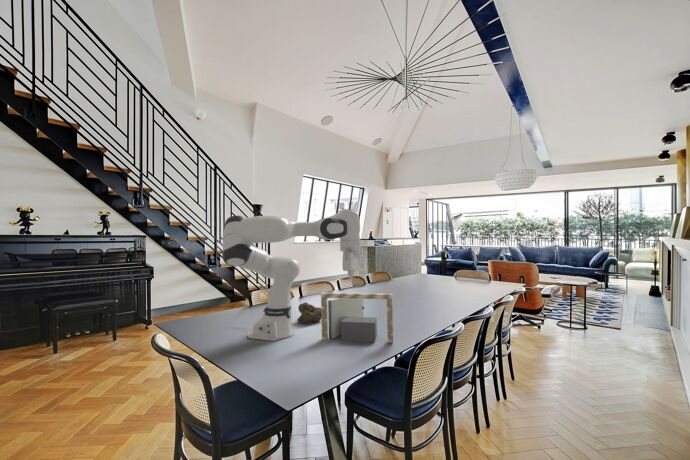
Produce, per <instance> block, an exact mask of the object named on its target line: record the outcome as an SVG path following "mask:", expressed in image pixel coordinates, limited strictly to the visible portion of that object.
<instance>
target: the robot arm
mask: <svg viewBox="0 0 690 460" xmlns="http://www.w3.org/2000/svg"><path fill="white" fill-rule="evenodd" d="M360 233H361V222H360V216H359V213H358V212H357V211H356V210H354V209H347V208H344V209H341V210H340V211H338V212H337V213H335V214H333V215H331V216H328V217H324V218H321V219H318V220H317V221H305V222H304V221H302V222H301V221H293V220H290V219H288V218H286V217H284V216H283V217H282V216H275V215H257V216H256V215H255V216H250V217H245V216H243V215H233V216H229V217H228V218H226V219H225V222H224V225H223V233H222V253H221V254H222V260H223V262H224V263H225V264H226V265H228V266H230V267H239V268H242V269H244V270H247V271H251V272H254V273H256V274H258V275H259V276H262V277H264V278H267V279H273V284H272V286H271V288H269V289H268V292H267V306H266V307H264V309H263V310H262V311H263V313H264V314H263V315H262V316H260V317H259V318H258V319H257V320H256V321H254V323H253V326H252V330H251V331H250V332H248V334H247V338H248V339H254V340H256V339H257V340H263V341H270V342H271V341H272V342H273V341H277V340H281V339H286V338H289V337H292V336H293V335H294V334H295V333H294V329H293V324H292V305H291V289H292V285H293V283H294V281H295V279H296V278H297V277H298V276H299V275H300V272H301V266H300V264H299V263H300V262H298V260H296V259H294V258H290V257H282V256H281V257H279V256H273V255H271V254H269V253H268V252H267V251H266V250H264V249H261V247H257V246H255V245H254V244H257V243H258V244H267V243H268V244H271V243H279V242H284V241H287V240H289V239H292V238H296V237H316V238H319V239H321V240H323V241H324V240H326V241H329V240H330V241H331V240H332V241H333V240H335V239H339V250H340V252H343V253H342V271H344V272H346V273H347V276H348V278H347V279H348V280H353V279H354V272H355V268H357V267H358V265H359V255H360V254H359V253H360V252H361V249H362V248H361V247H362V246H361V237H360V236H361V235H360Z"/></svg>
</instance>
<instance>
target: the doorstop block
mask: <svg viewBox="0 0 690 460" xmlns="http://www.w3.org/2000/svg"><path fill="white" fill-rule="evenodd" d="M377 320H378V319H377V317H374V316H373V317H372V316H371V317H367V316H366V317H365V316H364V317H344V318H343V319H342V321H341V335H340V336H341V337H340V338H341V339H340V340H341V341H344V342H345V341H349V342H365V341H368V342H370V343H375V342H376V341H375V340H377V337H378V335H377V334H378V333H377V332H378V331H377V330H378V327H377V325H378V324H377ZM368 342H367V343H368Z"/></svg>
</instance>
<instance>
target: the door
mask: <svg viewBox="0 0 690 460" xmlns="http://www.w3.org/2000/svg"><path fill="white" fill-rule="evenodd" d="M357 293H364V292H363V291H358V292H357ZM364 310H365V306H364V299H354V298H331V299H329V300H327V311H328V339H329V340H331V339H334V338H337V337H339V336H341V321H342V319H343V318H344V317H365V316H364Z"/></svg>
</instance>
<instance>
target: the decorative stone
mask: <svg viewBox="0 0 690 460" xmlns="http://www.w3.org/2000/svg"><path fill="white" fill-rule="evenodd" d="M298 311H299V313H301V315H300V316H299V317H298V318H297V320H296V322H297V323H299V324H308V323H310V322H315V323H319V322H320V321H322V315H321V307H316V306H314V305H313V304H310V303H308V302H302V303H300V304H299V305H298Z"/></svg>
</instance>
